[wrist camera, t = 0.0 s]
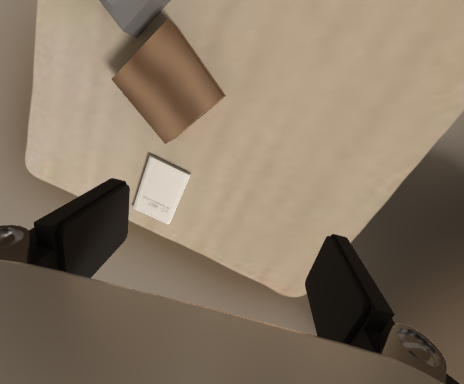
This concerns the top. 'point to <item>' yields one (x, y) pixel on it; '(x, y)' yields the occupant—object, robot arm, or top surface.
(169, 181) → the external hard drive
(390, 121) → the top surface
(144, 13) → the stand
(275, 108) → the top surface
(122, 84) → the stand
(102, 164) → the top surface
